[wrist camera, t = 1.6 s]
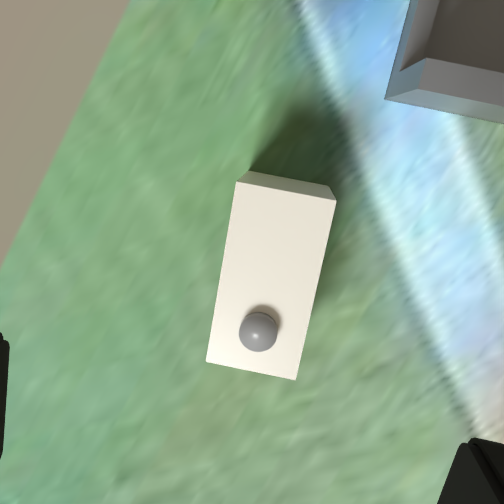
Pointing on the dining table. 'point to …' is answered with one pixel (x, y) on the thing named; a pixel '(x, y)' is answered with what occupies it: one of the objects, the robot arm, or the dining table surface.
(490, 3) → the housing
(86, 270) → the dining table surface
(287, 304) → the white block with knob
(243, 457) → the dining table surface
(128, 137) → the dining table surface
